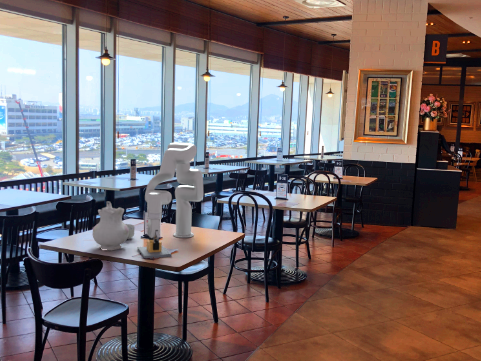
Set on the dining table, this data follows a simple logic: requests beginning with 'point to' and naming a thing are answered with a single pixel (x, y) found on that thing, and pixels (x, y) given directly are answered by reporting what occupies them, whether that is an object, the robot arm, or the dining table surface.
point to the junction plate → (153, 253)
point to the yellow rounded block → (150, 246)
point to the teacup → (130, 230)
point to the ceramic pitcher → (110, 228)
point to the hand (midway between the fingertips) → (154, 247)
